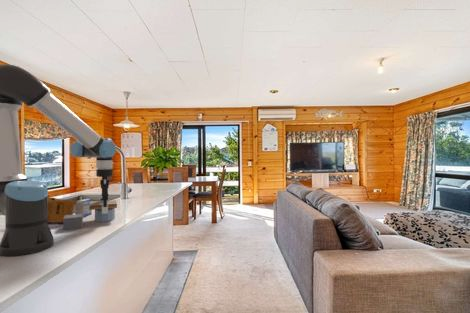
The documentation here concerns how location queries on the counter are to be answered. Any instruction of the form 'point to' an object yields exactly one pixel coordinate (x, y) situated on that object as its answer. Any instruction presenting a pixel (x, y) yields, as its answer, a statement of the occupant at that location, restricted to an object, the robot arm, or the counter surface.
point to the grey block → (72, 221)
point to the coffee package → (59, 209)
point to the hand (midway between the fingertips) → (104, 210)
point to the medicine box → (83, 207)
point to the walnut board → (99, 205)
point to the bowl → (104, 215)
